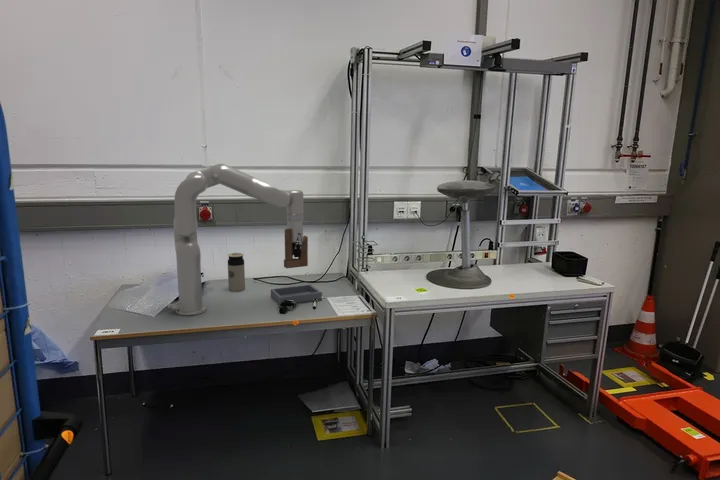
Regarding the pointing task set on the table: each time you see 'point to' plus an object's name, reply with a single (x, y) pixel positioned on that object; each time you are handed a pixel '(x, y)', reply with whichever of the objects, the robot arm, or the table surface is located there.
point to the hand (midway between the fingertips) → (295, 255)
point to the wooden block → (289, 250)
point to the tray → (296, 294)
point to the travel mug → (236, 272)
